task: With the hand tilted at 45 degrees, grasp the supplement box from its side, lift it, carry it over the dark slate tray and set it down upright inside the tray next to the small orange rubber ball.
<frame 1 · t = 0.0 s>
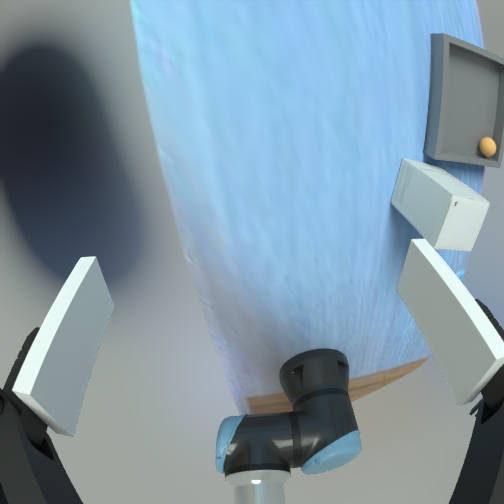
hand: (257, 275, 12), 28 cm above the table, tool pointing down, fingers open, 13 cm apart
supplement box: (414, 183, 40), on the table
ball: (482, 143, 35), point 1 cm above the table, touching tray
tray: (466, 102, 33), on the table
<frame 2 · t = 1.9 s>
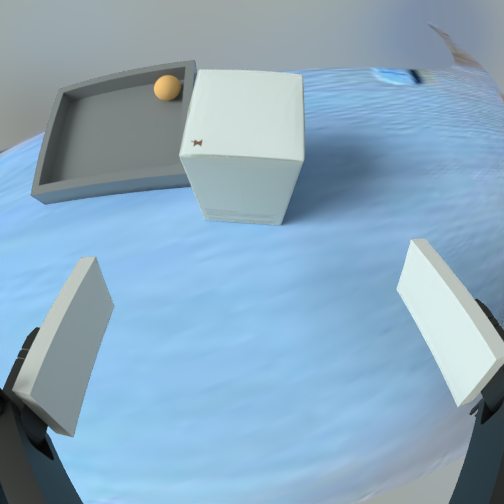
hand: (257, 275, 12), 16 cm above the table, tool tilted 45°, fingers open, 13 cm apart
supplement box: (245, 188, 30), on the table
ball: (170, 96, 31), point 1 cm above the table, touching tray
tray: (118, 134, 31), on the table
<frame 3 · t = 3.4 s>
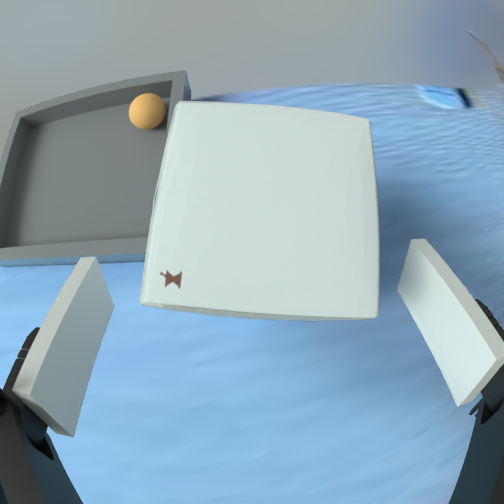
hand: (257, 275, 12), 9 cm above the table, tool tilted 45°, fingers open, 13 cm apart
supplement box: (256, 264, 22), on the table
ball: (152, 121, 23), point 1 cm above the table, touching tray
tray: (85, 176, 23), on the table
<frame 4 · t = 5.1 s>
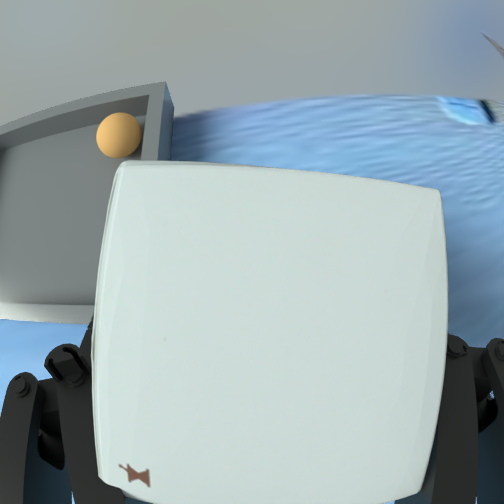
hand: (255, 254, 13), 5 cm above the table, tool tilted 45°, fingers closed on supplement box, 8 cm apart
supplement box: (255, 328, 18), on the table, touching gripper
ball: (126, 146, 19), point 1 cm above the table, touching tray
tray: (52, 214, 18), on the table
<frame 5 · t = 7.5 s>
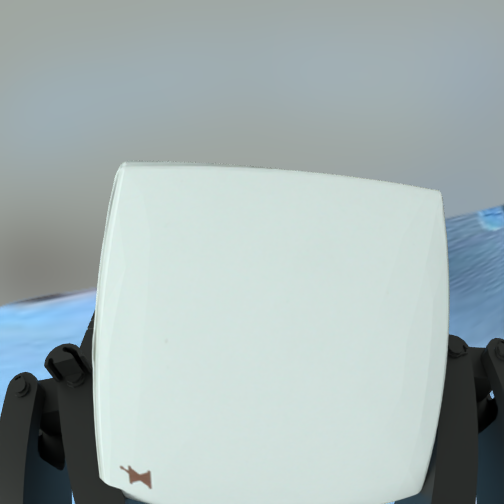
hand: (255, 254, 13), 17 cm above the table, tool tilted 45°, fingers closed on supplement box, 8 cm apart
supplement box: (255, 328, 18), point 12 cm above the table, touching gripper
when the fingers open (6 cm above the table, at t = 10.0 s): supplement box drops 1 cm, resting on tray.
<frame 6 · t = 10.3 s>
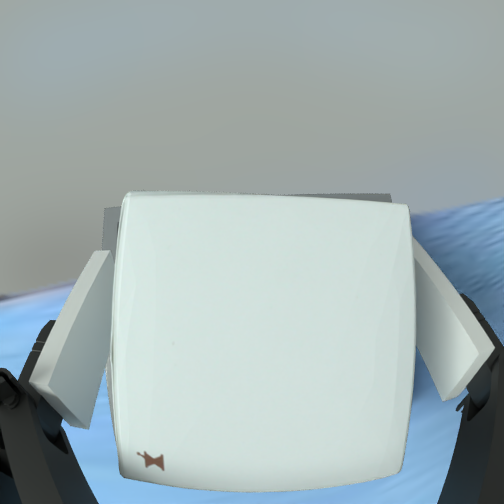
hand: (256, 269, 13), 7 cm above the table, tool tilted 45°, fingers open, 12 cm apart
supplement box: (253, 328, 19), point 1 cm above the table, touching tray
tray: (255, 326, 19), on the table
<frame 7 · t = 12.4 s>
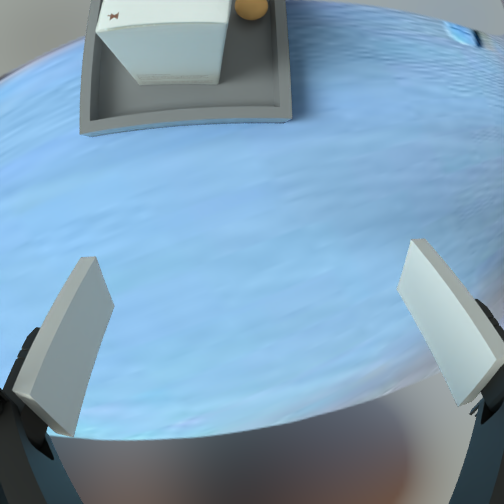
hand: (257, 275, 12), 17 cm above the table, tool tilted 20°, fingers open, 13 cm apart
supplement box: (182, 50, 23), point 1 cm above the table, touching tray
ball: (249, 12, 22), point 1 cm above the table, touching tray
tray: (184, 51, 23), on the table
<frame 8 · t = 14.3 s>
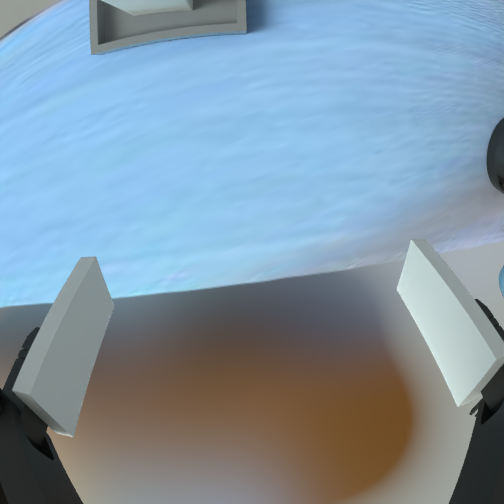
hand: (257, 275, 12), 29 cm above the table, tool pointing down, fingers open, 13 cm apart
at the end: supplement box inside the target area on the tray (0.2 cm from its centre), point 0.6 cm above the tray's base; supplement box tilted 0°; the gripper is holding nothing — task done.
